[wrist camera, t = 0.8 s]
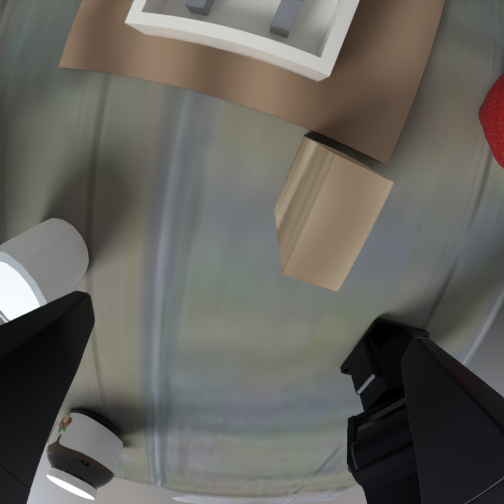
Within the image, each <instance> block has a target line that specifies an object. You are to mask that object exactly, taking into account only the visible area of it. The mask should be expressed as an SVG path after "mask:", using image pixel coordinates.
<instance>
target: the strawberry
mask: <svg viewBox="0 0 504 504" xmlns="http://www.w3.org/2000/svg"><path fill="white" fill-rule="evenodd" d="M479 120H480V123H481V125H482V127H483V131H484V134H485V137H486V139H487V141H488V144H489V146H490V148H491V151H492V153H493V155H494V157H495V159H496V161H497V162H498V163H499V165H500V166H501V167H502V168H503V169H504V74H503V75H502V76H500V77H499V79H498V80H497V81H496V82H495V84H494V85H493V87H492V88H491V90H490V91H489V93H488V94H487V96H486V98H485V101H484V104H483V105H482V107H481V108H480V111H479Z"/></svg>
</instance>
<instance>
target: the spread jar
mask: <svg viewBox="0 0 504 504" xmlns="http://www.w3.org/2000/svg"><path fill="white" fill-rule="evenodd" d="M122 449H123V442H122V439H121V437H120V435H119V433H118V432H117V431H116V429H115V428H114V427H113V425H112V424H111V423H109V422H108V421H107V420H105V419H104V418H102V417H101V416H99V415H97V414H95V413H93V412H90V411H87V410H83V409H74V410H71V411H70V412H68V413H66V414H65V415H64V416H63V417H62V418H61V419H60V421H59V422H58V424H57V426H56V428H55V430H54V432H53V434H52V436H51V438H50V441H49V443H48V447H47V457H48V460H49V462H50V465H51V467H50V468H49V470H48V473H47V477H48V478H49V479H50V480H51V481H53V482H54V483H56V484H57V485H59V486H61V487H63V488H64V489H66V490H68V491H70V492H72V493H75V494H77V495H80V496H82V497H85V498H88V499H93V500H94V499H95V497H96V493H97V488H100V487H102V486H104V485H106V484H108V483H109V482H110V481H111V480H112V479H113V477H114V475H115V473H116V471H117V468H118V464H119V461H120V458H121V454H122Z"/></svg>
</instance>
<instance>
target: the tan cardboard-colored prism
mask: <svg viewBox="0 0 504 504" xmlns="http://www.w3.org/2000/svg"><path fill="white" fill-rule="evenodd" d="M393 184H394V182H392V181H391V180H389V179H388V178H386V177H384V176H383V175H381V174H379V173H378V172H376V171H374V170H373V169H371V168H369V167H368V166H366V165H364V164H362V163H361V162H359V161H357V160H355V159H354V158H352V157H350V156H348V155H346V154H345V153H343V152H341V151H339V150H336V149H334V148H332V147H330V146H327V145H325V144H323V143H320V142H318V141H315V140H313V139H311V138H308V137H306V136H303V139H302V141H301V144H300V146H299V149H298V151H297V154H296V156H295V159H294V161H293V164H292V166H291V169H290V171H289V174H288V176H287V179H286V181H285V184H284V186H283V189H282V191H281V193H280V196H279V198H278V201H277V203H276V206H275V208H274V212H275V219H276V227H277V234H278V242H279V250H280V258H281V266H282V274H283V275H286V276H289V277H292V278H296V279H299V280H302V281H305V282H308V283H311V284H314V285H318V286H321V287H324V288H327V289H330V290H334V291H337V292H338V290H339V289H340V287H341V285H342V283H343V282H344V280H345V278H346V276H347V274H348V273H349V271H350V269H351V267H352V265H353V264H354V262H355V260H356V258H357V256H358V254H359V252H360V251H361V249H362V247H363V245H364V243H365V241H366V239H367V237H368V235H369V233H370V231H371V229H372V227H373V225H374V223H375V221H376V219H377V217H378V215H379V213H380V211H381V209H382V207H383V205H384V203H385V201H386V199H387V197H388V195H389V192H390V190H391V188H392V186H393Z"/></svg>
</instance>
